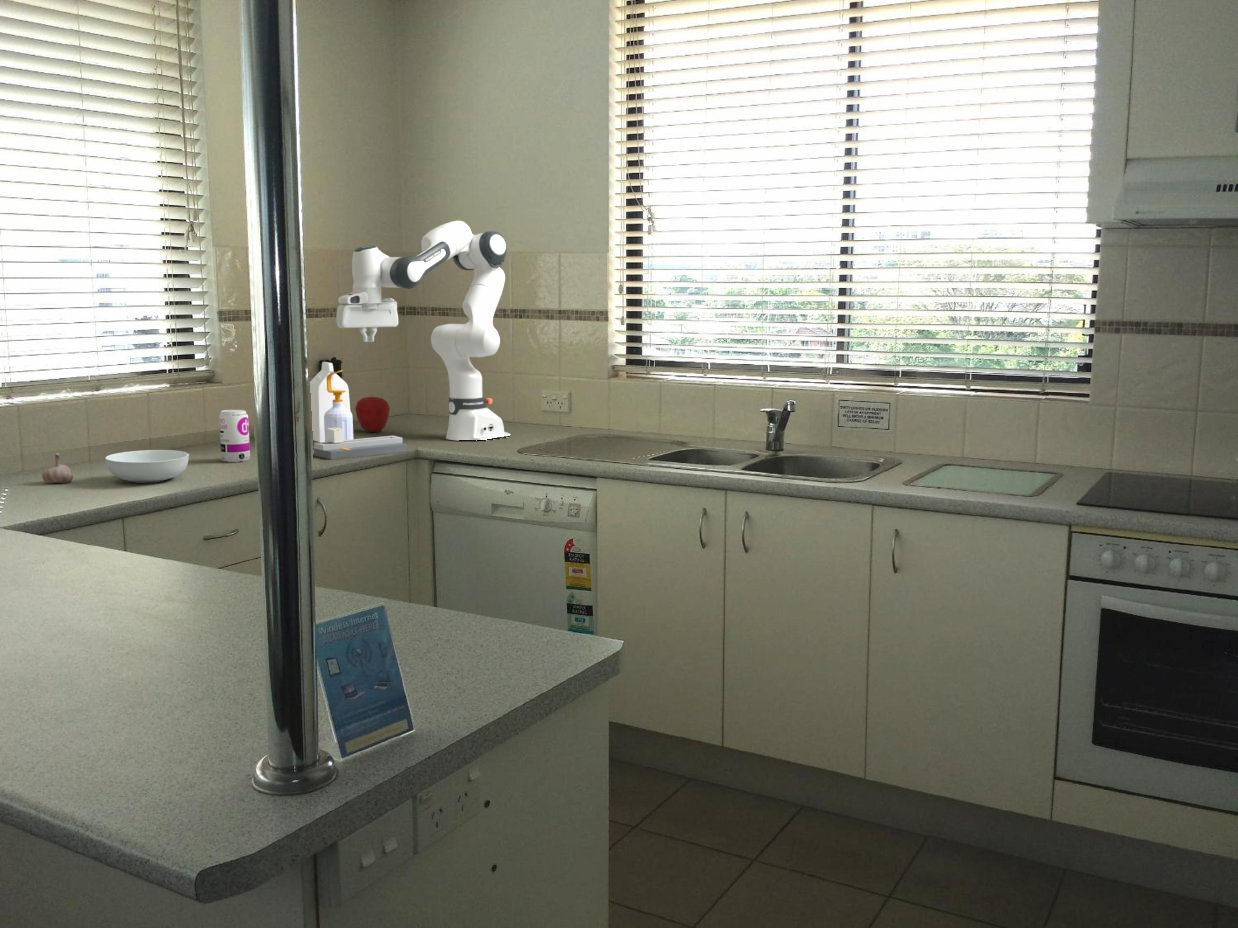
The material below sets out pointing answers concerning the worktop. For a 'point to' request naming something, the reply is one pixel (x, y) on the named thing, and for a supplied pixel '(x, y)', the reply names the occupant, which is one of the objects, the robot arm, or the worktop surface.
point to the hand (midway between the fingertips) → (368, 342)
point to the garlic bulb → (57, 473)
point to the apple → (372, 413)
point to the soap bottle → (338, 414)
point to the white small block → (334, 435)
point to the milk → (325, 398)
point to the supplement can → (234, 435)
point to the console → (360, 447)
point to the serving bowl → (147, 465)
